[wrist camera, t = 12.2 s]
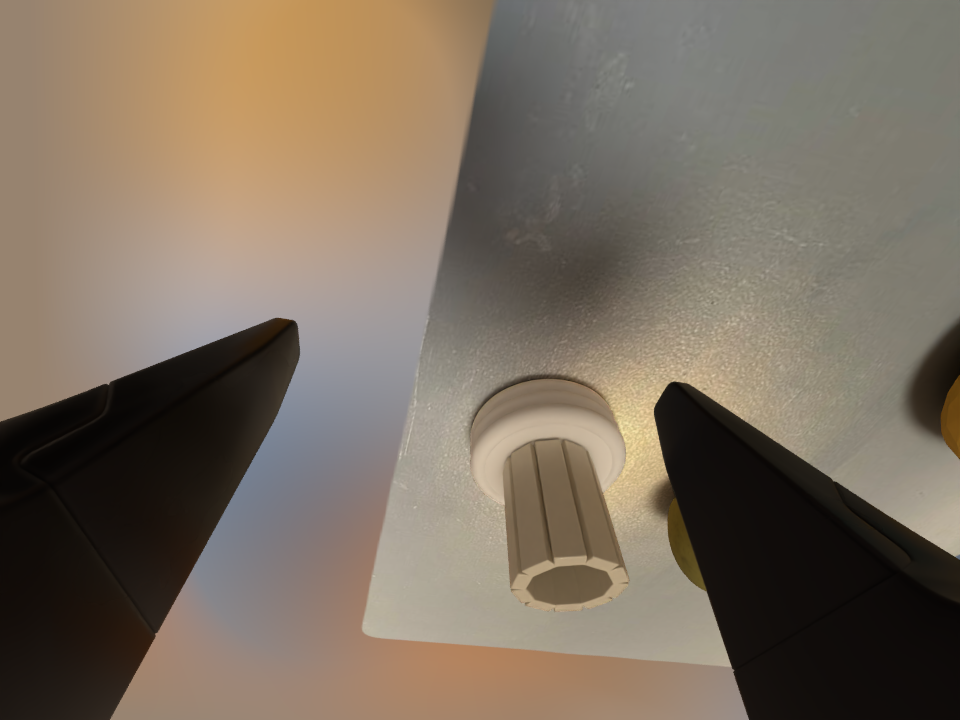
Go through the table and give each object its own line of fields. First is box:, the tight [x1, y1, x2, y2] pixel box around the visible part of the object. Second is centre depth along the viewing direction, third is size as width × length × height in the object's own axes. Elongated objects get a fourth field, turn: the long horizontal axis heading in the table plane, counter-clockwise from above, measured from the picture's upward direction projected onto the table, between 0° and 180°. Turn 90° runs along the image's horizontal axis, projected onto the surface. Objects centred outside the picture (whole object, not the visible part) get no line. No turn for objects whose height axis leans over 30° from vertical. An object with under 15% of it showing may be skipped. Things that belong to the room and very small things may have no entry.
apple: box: [668, 498, 706, 591], centre depth 29 cm, size 8×8×7 cm
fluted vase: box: [503, 440, 630, 612], centre depth 22 cm, size 6×6×7 cm
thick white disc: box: [470, 379, 626, 506], centre depth 26 cm, size 10×10×4 cm
